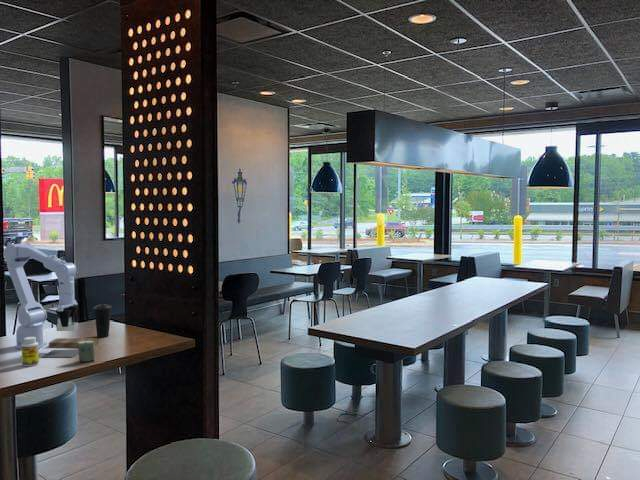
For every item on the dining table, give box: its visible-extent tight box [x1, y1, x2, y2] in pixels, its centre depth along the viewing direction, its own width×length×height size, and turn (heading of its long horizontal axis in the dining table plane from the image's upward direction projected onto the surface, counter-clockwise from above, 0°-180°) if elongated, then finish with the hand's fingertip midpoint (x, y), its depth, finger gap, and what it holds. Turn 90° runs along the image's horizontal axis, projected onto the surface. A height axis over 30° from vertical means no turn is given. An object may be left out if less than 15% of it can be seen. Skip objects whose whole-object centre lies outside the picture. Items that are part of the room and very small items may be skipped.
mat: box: [41, 349, 79, 359], centre depth 215 cm, size 12×10×1 cm
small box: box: [77, 341, 95, 363], centre depth 206 cm, size 6×5×8 cm
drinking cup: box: [93, 292, 112, 339], centre depth 244 cm, size 8×8×20 cm
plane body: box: [48, 337, 99, 348], centre depth 229 cm, size 18×7×2 cm, turn 93°
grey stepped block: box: [55, 317, 79, 332], centre depth 220 cm, size 7×4×5 cm, turn 94°
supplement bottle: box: [21, 337, 40, 367], centre depth 201 cm, size 6×6×10 cm
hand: (67, 325), depth 220 cm, fingers closed on grey stepped block, 4 cm apart
